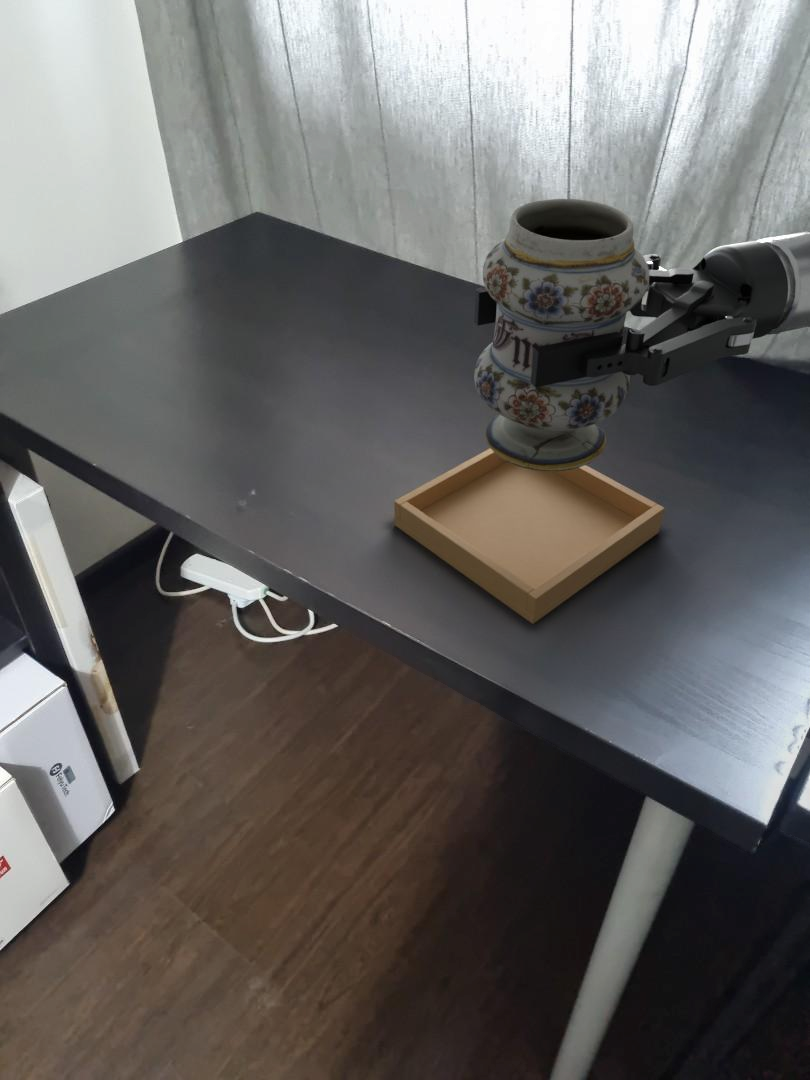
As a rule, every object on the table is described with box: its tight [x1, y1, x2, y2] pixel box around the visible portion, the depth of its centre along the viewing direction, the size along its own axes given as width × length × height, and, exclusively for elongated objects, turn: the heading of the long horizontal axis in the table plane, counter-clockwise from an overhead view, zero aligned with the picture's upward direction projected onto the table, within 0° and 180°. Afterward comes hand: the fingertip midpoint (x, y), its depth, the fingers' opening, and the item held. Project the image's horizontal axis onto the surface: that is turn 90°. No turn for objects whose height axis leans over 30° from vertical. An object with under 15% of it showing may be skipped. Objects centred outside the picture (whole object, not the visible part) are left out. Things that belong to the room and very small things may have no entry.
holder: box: [393, 447, 665, 625], centre depth 73 cm, size 17×17×3 cm
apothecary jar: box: [473, 198, 649, 471], centre depth 62 cm, size 12×12×18 cm
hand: (503, 335), depth 61 cm, fingers closed on apothecary jar, 9 cm apart
